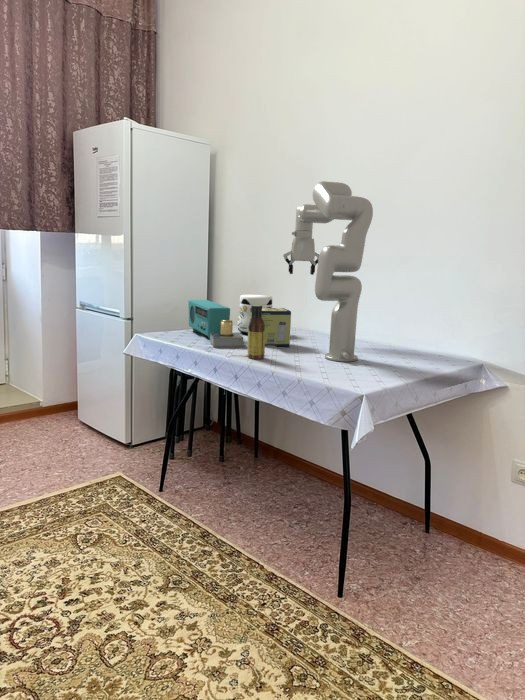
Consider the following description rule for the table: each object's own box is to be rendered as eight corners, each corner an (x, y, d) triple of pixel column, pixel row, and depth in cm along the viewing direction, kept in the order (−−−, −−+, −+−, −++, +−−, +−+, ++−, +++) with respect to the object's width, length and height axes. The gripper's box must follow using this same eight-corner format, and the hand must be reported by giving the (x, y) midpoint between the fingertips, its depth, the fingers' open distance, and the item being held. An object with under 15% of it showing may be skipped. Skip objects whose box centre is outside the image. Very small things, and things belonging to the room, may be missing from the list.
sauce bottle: (256, 355, 204) (258, 303, 200) (267, 358, 200) (269, 305, 196) (243, 357, 200) (245, 304, 196) (255, 360, 195) (257, 306, 191)
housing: (243, 349, 215) (243, 337, 214) (213, 349, 212) (213, 337, 211) (238, 344, 226) (238, 332, 225) (209, 344, 224) (210, 332, 223)
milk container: (229, 332, 257) (230, 295, 254) (256, 329, 269) (257, 293, 265) (253, 337, 245) (254, 298, 241) (280, 334, 256) (282, 297, 253)
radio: (186, 330, 257) (186, 299, 254) (206, 330, 261) (207, 299, 259) (206, 343, 227) (207, 308, 224) (229, 342, 231) (230, 307, 228)
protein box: (248, 343, 230) (249, 307, 227) (283, 343, 234) (284, 307, 231) (254, 348, 220) (255, 310, 217) (290, 347, 224) (292, 310, 221)
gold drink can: (232, 345, 217) (233, 321, 215) (221, 345, 216) (221, 321, 214) (231, 343, 222) (231, 319, 220) (219, 343, 221) (220, 319, 219)
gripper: (286, 234, 230) (284, 274, 234) (324, 235, 234) (322, 275, 237) (282, 234, 238) (280, 273, 241) (320, 236, 241) (317, 274, 244)
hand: (301, 274), depth 239 cm, fingers open, 9 cm apart
